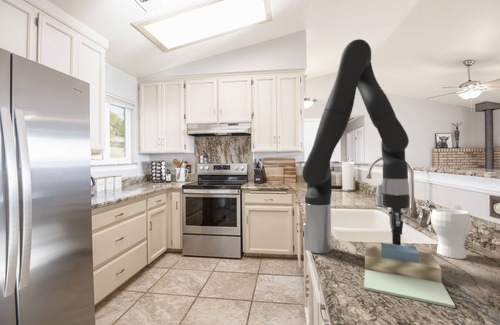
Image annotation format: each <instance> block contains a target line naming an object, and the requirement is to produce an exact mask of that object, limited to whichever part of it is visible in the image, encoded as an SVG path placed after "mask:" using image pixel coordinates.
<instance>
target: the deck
mask: <svg viewBox="0 0 500 325" xmlns="http://www.w3.org/2000/svg"><path fill="white" fill-rule="evenodd" d="M418 253H419V263H417V262H410V261H403V260H396V259H389V258H383V257H382V253H381V246H378V245H369V244H365V251H364V270H365V269H366V270H371V271H377V272H383V273H389V274H395V275H400V276H406V277H412V278H418V279H424V280H429V281H435V282H441V283H442V268H441V267H440V265H439V263H438V261H436V260H437V259H436V258H435V257H434V255H433V254H432V253H431V252H427V251H426V252H425V251H418Z"/></svg>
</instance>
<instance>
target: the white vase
mask: <svg viewBox="0 0 500 325" xmlns="http://www.w3.org/2000/svg"><path fill="white" fill-rule="evenodd" d="M430 219H431V220H430V222H431V226H432V228H433V230H434V232H435V233H436V236H437V237H436V238H437V240H438V243H437V249H436V253H437V254H438V255H440V256H443V257H446V258H450V259H455V260H456V259H459V260H462V259H464V260H465V259H467V253H466V249H465V248H466V247H465V242H466V239H467V237H468V236H469V234H470V232H471V229H472V218H471V214H470V212H469V211H466V210H461V209H454V208H433V209H432V212H431V215H430Z"/></svg>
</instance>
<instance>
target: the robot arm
mask: <svg viewBox="0 0 500 325" xmlns="http://www.w3.org/2000/svg"><path fill="white" fill-rule="evenodd" d="M339 61H340V62H339V66H338V70H337V73H336V78H335V80H334V83H333V86H332V89H331V91H330V94H329V96H328V98H327V102H326V104H325V107H324V110H323V112H322V114H321V115H322V116H321V118H320V121H319V125H318V128H317V131H316V133H315V134H316V135H315V139H314V142H313V145H312V147H311V150H310V153H309V155H308V156H307V159H306V161H305V163H304V166H303V168H302V178H303V180H304V182H305V183H306V186H307V187H306V189H307V190H306V193H305V195H304V196H305V197H304V210H305V211H304V214H305V215H304V218H305V219H304V220H305V222H304V223H303V245H304V246H303V247H304V248H303V249H304V250H305V251H309V252H311V253H314V254H328V253H330V252H332V222H331V221H332V209H331V208H332V206H331V204H332V203H331V201H332V200H331V199H332V193H333V192H332V189H333V188H332V186H333V185H332V180H333V179H332V177H333V176H332V175H333V174H332V169H331V167H330V163H331V159H332V156H333V154H334V151H335V148H336V147H337V145H338V143H339V142H340V140H341V139H342V136H343V135H344V134H345V132H346V129H347V126H348V124H349V121H350V119H351V116H352V113H353V109H354V108H353V107H354V105H355V103H354V102H355V98H356V92H357V90H358V92H359V93H360V96H361V99H362V102H363V104H364V107H365V109H366V112H367V114H368V116H369V119H370V121H371V123H372V124H373V126H374V127H375V128H376V129H377V132H378V135H379V136H380V140H381V142H380V143H381V146H380V148H381V157H382V161H383V162H382V183H381V184H382V185H381V196H382V206H383V207H385V208H388V209H389V208H390V211H388V216H389V225H390V229H391V231H390V232H391V234H392V235H391V238H392V240H391V244H395V245H402V244H401V242H402V241H401V240H402V238H401V237H402V236H401V235H403V228H404V218H405V216H404V213H403V211H402V209H405V210H406V209H408V208H410V205H411V204H410V184H409V169H408V168H409V166H408V162H407V161H406V149H407V148H408V145H409V144H410V143H409V140H410V139H409V136H408V134H407V132H406V130H405V129H404V126H403V125H402V123H401V122H400V120H399V119H398V118H397V116H396V113H395V111H394V108H393V106H392V103H391V102H390V100H389V98H388V96H387V94H386V93H385V92H384V90H383V88H382V87H381V85H380V84H379V83H378V82H379V81H378V80H377V78H376V76H375V73H374V70H373V65H372V48H371V46H370V44H369V42H367V40H364V39H360V38H358V39H354V40H352V41H350V42H349V43H348V44H346V46H345V47H344V49H343V51H342V53H341V57H340V60H339Z"/></svg>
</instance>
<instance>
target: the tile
mask: <svg viewBox="0 0 500 325" xmlns="http://www.w3.org/2000/svg"><path fill="white" fill-rule="evenodd" d="M380 247H381V253H382V257H383V258H389V259H396V260H403V261H410V262H417V263H419V253H418V252H419V251H418V250H417V248H416V246H411V245H410V246H409V245H402V244H401V245H395V244H393V243H386V242H385V243H384V242H381V243H380Z"/></svg>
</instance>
